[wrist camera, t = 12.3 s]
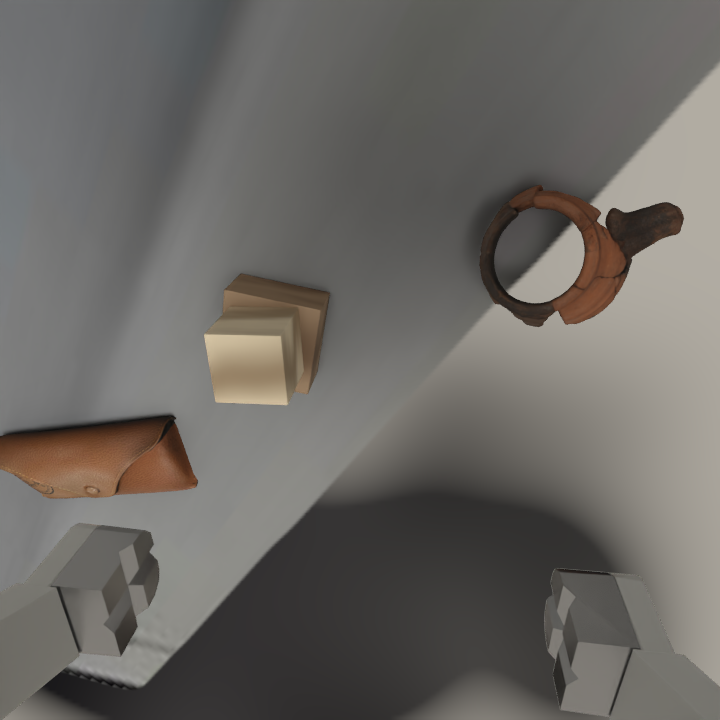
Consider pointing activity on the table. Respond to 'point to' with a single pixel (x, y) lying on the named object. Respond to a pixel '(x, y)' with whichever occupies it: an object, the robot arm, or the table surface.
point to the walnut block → (286, 295)
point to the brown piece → (602, 252)
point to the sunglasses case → (100, 459)
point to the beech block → (255, 355)
